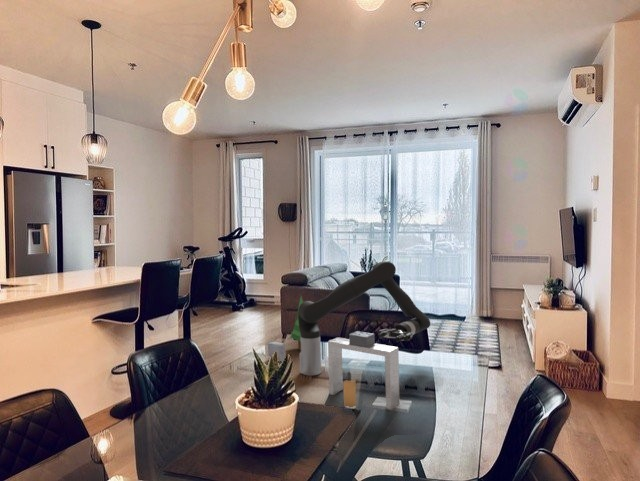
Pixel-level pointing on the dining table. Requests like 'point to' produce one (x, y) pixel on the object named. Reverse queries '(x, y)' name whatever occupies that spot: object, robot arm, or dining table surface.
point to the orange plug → (349, 391)
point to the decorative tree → (297, 329)
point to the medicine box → (277, 350)
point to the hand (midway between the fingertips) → (387, 338)
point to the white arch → (366, 345)
